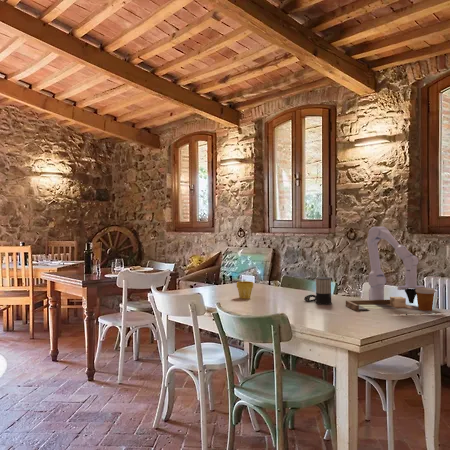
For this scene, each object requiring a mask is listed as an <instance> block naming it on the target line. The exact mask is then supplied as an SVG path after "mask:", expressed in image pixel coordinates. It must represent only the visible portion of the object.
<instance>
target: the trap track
mask: <svg viewBox="0 0 450 450" xmlns="http://www.w3.org/2000/svg"><path fill="white" fill-rule="evenodd" d="M345 307H347V308H349V309H351V310H353V311H354V312H371V310H386V309H388V310H389V309H390V310H391V309H392V310H393V309H415V307H413V306H411V305H408V304H406V307H394V306H391V305H390V299H384V300H369V299H356V300H345Z"/></svg>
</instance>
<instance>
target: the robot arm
mask: <svg viewBox="0 0 450 450" xmlns="http://www.w3.org/2000/svg"><path fill="white" fill-rule="evenodd" d="M381 240H385V241H386V242H388V243H389V245H391V246H392V247H393V249H394V251H395V253H396V255H397V256H398V258H400V259H401V260H402V263H403V265H404V269H405V272H404V273H405V274H404V275H405V276H404V277H405V280H404V281H405V284H404V285H398V286H397V291H404V292H405V293H406V297H407V300H408V303H409V304H414V302H415V298H416V297H417V294H416V291H415V290H416V288H418V287H425V285H417V284H418V280H417V279H418V277H417V276H418V275H417V274H418V267H417V266H418V265H419V258H418V257H417V255H413V253H412V252H410V251H409V249H408V247H407V245H406V246H405V245H403V244H400V243H399V241H398V240H397V239H396V238H395V237H394V236H393V235H392V233H391V231H390V230H389V229H388V228H387V227H386V226H383V225H382V226H372V227H370V229H369V230H368V236H367V240H366V241H367V243H366V245H367V248H368V249H367V250H368V257H369V263H370V272H369V273H368V281H367V283H368V285H369V286H370V287H369V289H368V300H385V285H386V284H387V278H386V276H385V273H384V271H382V268H381V259H380V254H379V253H380V252H379V245H378V243H379V242H380V241H381Z"/></svg>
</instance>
